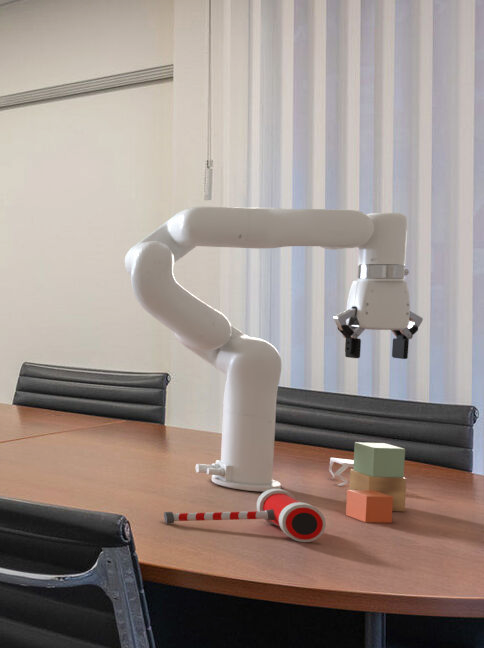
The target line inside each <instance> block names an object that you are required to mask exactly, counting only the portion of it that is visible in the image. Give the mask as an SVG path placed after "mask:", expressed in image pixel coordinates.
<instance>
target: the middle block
mask: <svg viewBox="0 0 484 648" xmlns="http://www.w3.org/2000/svg"><path fill="white" fill-rule="evenodd" d="M353 449H354V450H353V460H354V465H353V467H352V468H353V469H352V470H354V471H357V472H360V473H363V474H366V475H369V476H372V477H400V478H403V477H404V476H405V475H404V474H405V459H406V448H404V447H400V446H397V445H393V444H390V443H385V442H360V441H358V442H357V441H354V448H353ZM404 478H405V477H404Z"/></svg>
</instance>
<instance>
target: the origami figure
mask: <svg viewBox="0 0 484 648" xmlns="http://www.w3.org/2000/svg"><path fill="white" fill-rule="evenodd" d="M334 463H336V464H340V465H341V466H340V467H339V469H337V470H336V471H335V472H333V465H334ZM353 465H354V459H347V458H340V457H339V458H337V457H330V459H329V464H328V471H329V473H330V474H331V476H332V477H331V480H335V478H336V477H337V478H338V479H340V480H341V481H342V482H341V483H338V484H337V486H340V487H342V486H344V485H346V484H348V483H349V481H348V480H347V479H346V478H345V477H343V476H342V473H344V472H345V471H346V470H347V469H348V468H353Z"/></svg>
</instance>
